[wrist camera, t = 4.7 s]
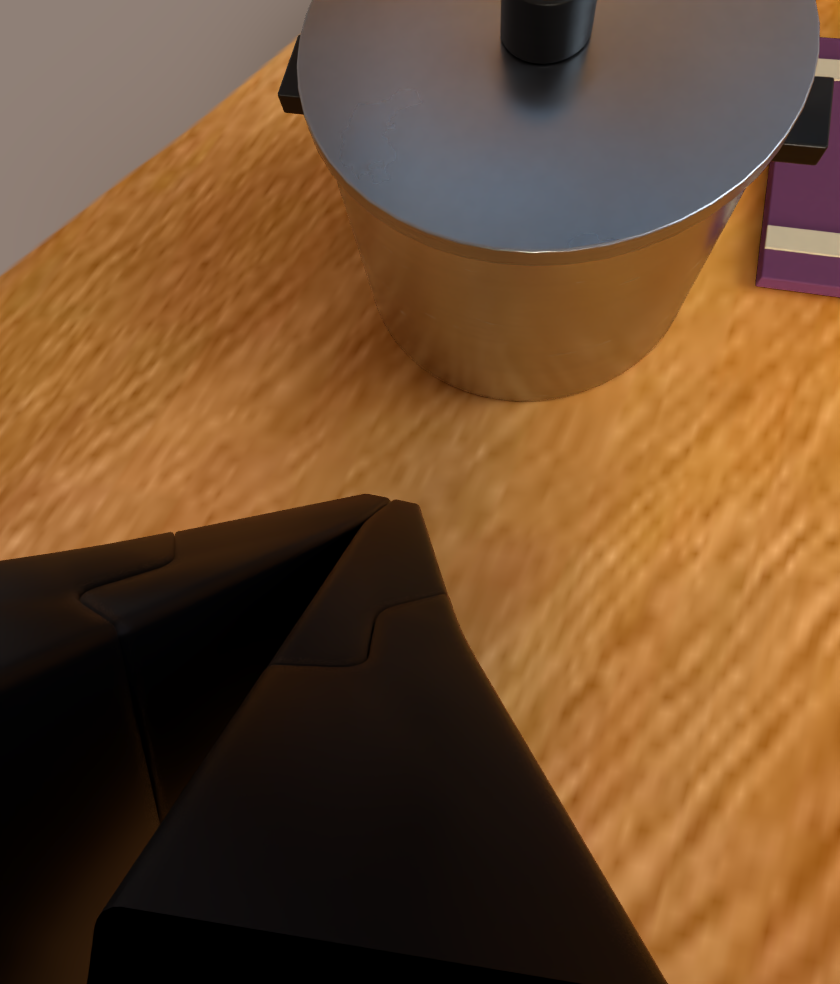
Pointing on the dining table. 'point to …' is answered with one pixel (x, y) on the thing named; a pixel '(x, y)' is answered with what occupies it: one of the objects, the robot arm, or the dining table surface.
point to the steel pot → (549, 165)
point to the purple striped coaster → (806, 209)
